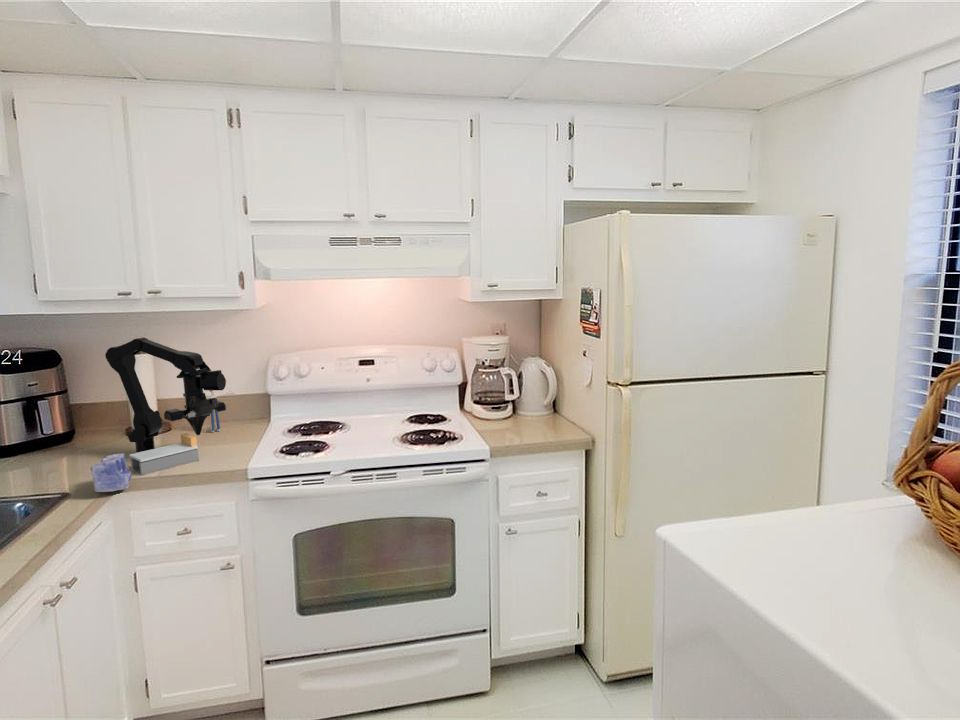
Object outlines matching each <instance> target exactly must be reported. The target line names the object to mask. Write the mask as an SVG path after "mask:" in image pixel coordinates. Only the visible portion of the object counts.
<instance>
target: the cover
mask: <svg viewBox="0 0 960 720" xmlns="http://www.w3.org/2000/svg"><path fill="white" fill-rule="evenodd" d="M180 440H181V441H180V442H178V443H173V444H169V445H164V446H161V447H155V449H151V450H147V451H142V452H138V453H136V452H135V453H131V454H129V458H133V459H135V460H137V461H139V462H144V461H148V460H152V459H156V458H160V457H164V456H168V455H172V454H176V453H181V452H185V451H189V450H193V449H199V446H198V443H197V442H198V440H197V436H194V435H191V434H189V433H181V434H180Z"/></svg>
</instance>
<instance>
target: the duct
mask: <svg viewBox="0 0 960 720" xmlns="http://www.w3.org/2000/svg"><path fill="white" fill-rule="evenodd" d="M198 449H199V448H197V449H193V450H189V451H185V452H181V453H176V454H172V455H168V456H164V457H160V458H156V459H152V460H148V461H144V462H139V461H137V460H135V459H133V458H131V457H129V458H130V465H131V466H130V467H131V471H133V472H135V473H137V474H138V475H141V476H144V475H147V474H151V473H155V472H159V471H163V470H167V469H171V468H175V467H178V465H179V466H182V464H183V465H186V463H187V464H190V462H191V463H193V462H197V461H200V459H199V450H198Z"/></svg>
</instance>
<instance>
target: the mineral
mask: <svg viewBox="0 0 960 720" xmlns="http://www.w3.org/2000/svg"><path fill="white" fill-rule="evenodd" d="M125 455H126V454H125V453H123V452H122V453H114V454H110V455H109V454H108V455H105V456H104V458H102V459H101V460H100V461H99V462H97V464H93V465H91V466H90V471H91V476H92V480H93V486H94V487H93V488H94V489H93V490H94V491H95V492H96V493H108V492H117V491H122V490H126V489H128V488H129V486H130V481H131V479H132V478H133V476H132V470H130V471H129V470H128V467H127V465H128V463H127V459H126V456H125Z"/></svg>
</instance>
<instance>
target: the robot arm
mask: <svg viewBox="0 0 960 720" xmlns="http://www.w3.org/2000/svg"><path fill="white" fill-rule="evenodd" d="M141 352H142V353H144V354H147V355H149V356H152V357H155V358H158V359H162V360H163V361H166V362H169V363H170V364H172V365H173V366H174V368H177V369H179V371H180V372H179V374H177V375H176V379H182V381H183V391H184V393H182V394H183V396H182V397H184V399H185V400H184V402H185V405H184V409H182V410H181V409H179V408H173V409H168V410H165V411H164V413H163V416H164V417H163V418H164V420H166V421H170V422H175V421H179V420H182V419H184V420H186V421H187V422H188V424H189V425H190V426H191V429H192V430H193V431H194V433H195V434H196V436H200V435H201V432H202V429H203V426H204V422H205V421H206V419H207V417H209V416H211V413H212V410H214V411H215V410H216V411H217V412H218V413H219V412H224V411H226V410H227V405H226V403H225V402H224V401H219V400H218V399H217V397H216V398H210V399H209V398H208V399H206V397H207V396H206V393H205V392H204V391H209V390H213V391H223V390H224V389H225V388H226V385H227V379H226V378H225V377H226V376H225V375H224V374H223V371H222V370H221V369H217V370H212V369H211V368H210V367H209V365H208V364H207V363H206V362H205V361H204V359H203V357H202V355H201V354H200V353H197V352H194V351H193V352H192V351H184V350H177V349H175V348H171V347H170V346H168V345H167V346H166V345H164V344H161V343H158V342H155V341H153V340H151V339H148V338H146V337H138V338H134V339H132V340H130V341H129V342H126V343H124V344H121V345H117V346H113V347H109V348H108V349H107V350H106V352H105V354H104V355H105V356H104V357H105V359H106V361H107V363H108V364H109V366H110V368H111V369H112V370H114V372H116V373H117V374H118V375H119V377H120V381H121V383H122V385H123V388H124V390H125V393H126V396H127V398H128V401H129V403H130V406H131V408H132V410H133V418H132V423H133V430H132V431H131V432H130V433H129V435H128V436H127V438H128V440H129V442H130V443H134V444H135V453H138V452H142V451H147V450H151V449H155V448H156V447H155V437H157V436H159V432H160V431H161V429H162V427H163V423H162V422H163V421H164V420H163V419H162V417H161V415H160V411H159V410H155V411H154V410H153V409H152V408H151V407H150V405H149V402H148V400H147V397H146V395H145V392H144V390H143V388H142V385H141V382H140V379H139V377H138V374H137V372H136V368H135V367H136V359H137V358H136V355H138V354H140V353H141Z"/></svg>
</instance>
